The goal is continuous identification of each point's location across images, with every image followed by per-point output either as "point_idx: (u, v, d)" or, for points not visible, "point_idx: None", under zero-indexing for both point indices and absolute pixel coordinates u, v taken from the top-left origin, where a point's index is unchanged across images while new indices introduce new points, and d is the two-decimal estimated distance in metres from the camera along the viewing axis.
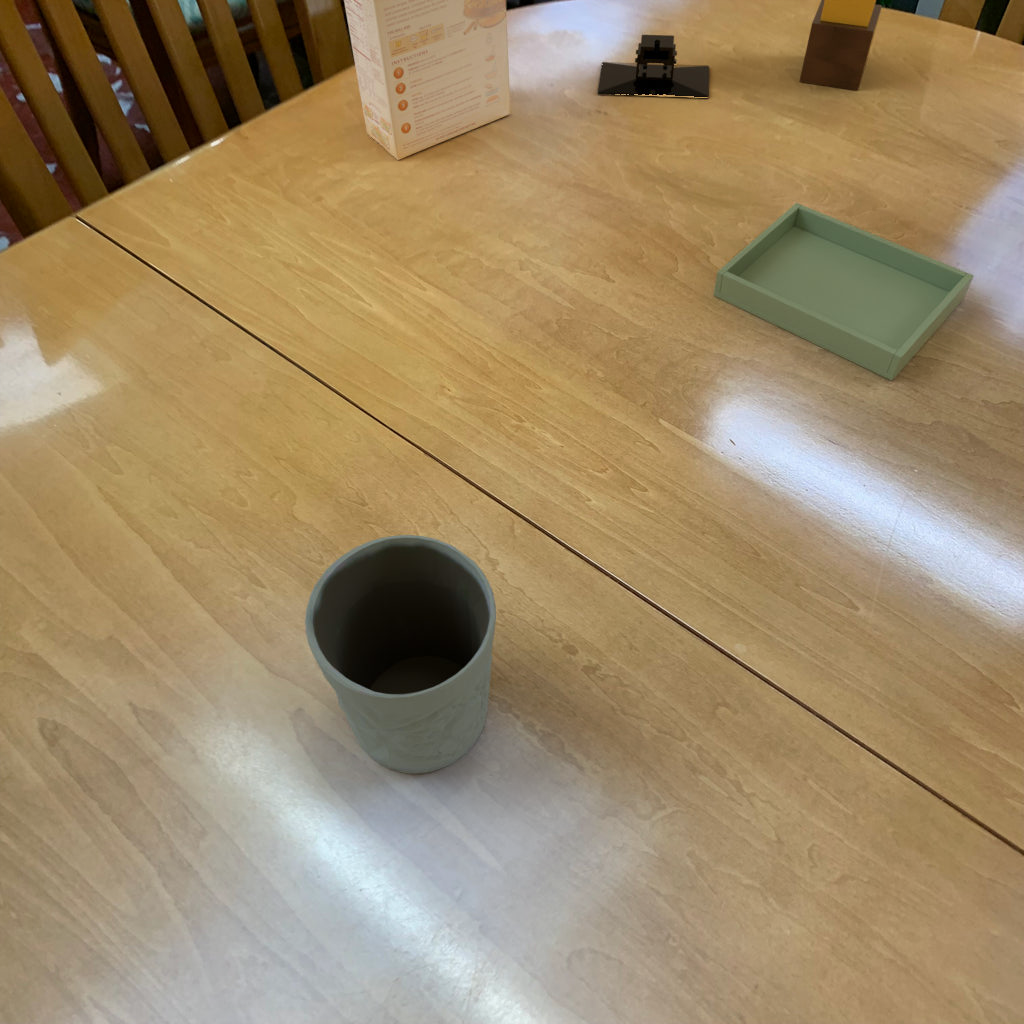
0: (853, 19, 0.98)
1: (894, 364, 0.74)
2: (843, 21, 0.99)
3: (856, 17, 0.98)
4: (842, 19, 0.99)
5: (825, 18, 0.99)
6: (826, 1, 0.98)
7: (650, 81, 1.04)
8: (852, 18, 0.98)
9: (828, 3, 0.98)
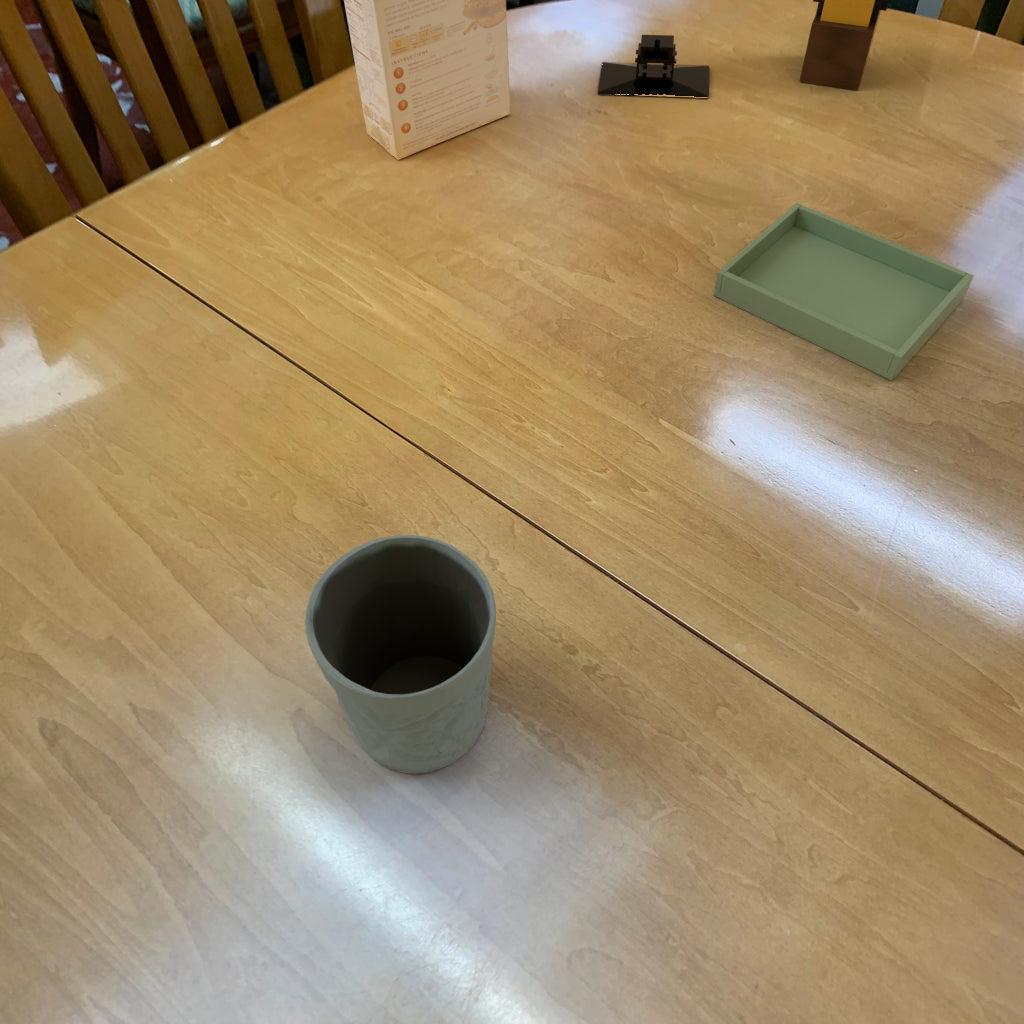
0: (853, 19, 0.98)
1: (894, 364, 0.74)
2: (843, 21, 0.99)
3: (856, 17, 0.98)
4: (842, 19, 0.99)
5: (825, 18, 0.99)
6: (826, 1, 0.98)
7: (650, 81, 1.04)
8: (852, 18, 0.98)
9: (828, 3, 0.98)
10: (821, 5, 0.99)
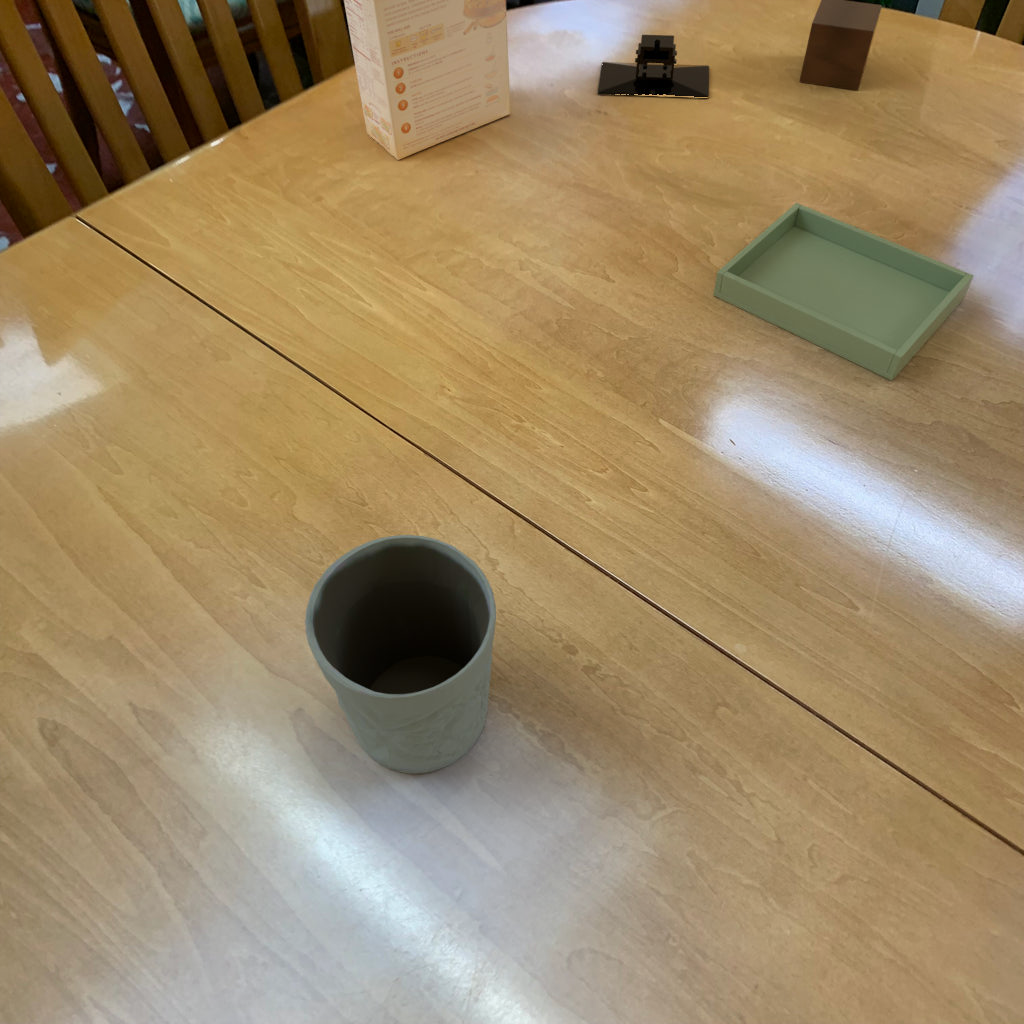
0: None
1: (894, 364, 0.74)
2: None
3: None
4: None
5: None
6: None
7: (650, 81, 1.04)
8: None
9: None
10: None
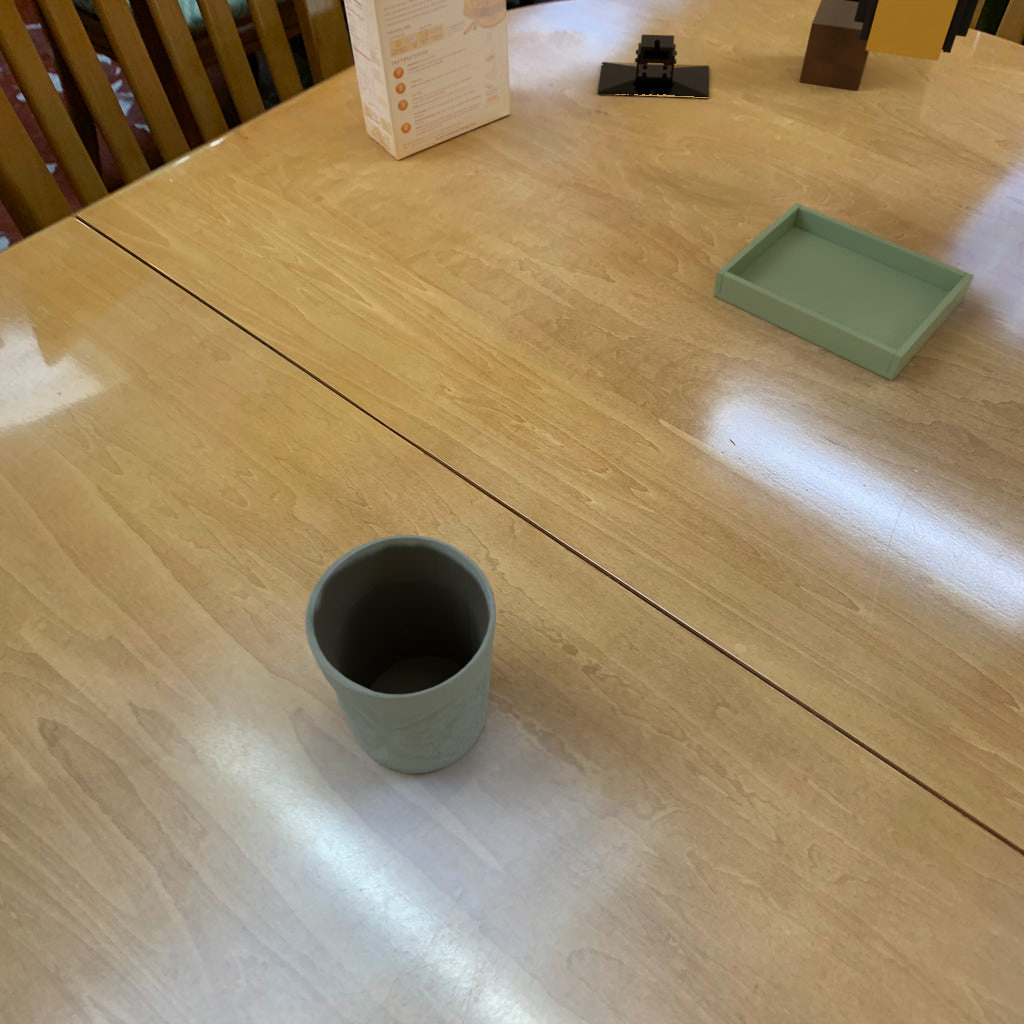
0: (915, 49, 0.65)
1: (894, 364, 0.74)
2: (900, 52, 0.66)
3: (921, 46, 0.65)
4: (899, 49, 0.66)
5: (873, 47, 0.66)
6: (875, 22, 0.65)
7: (650, 81, 1.04)
8: (914, 47, 0.65)
9: (878, 24, 0.65)
10: (867, 27, 0.66)
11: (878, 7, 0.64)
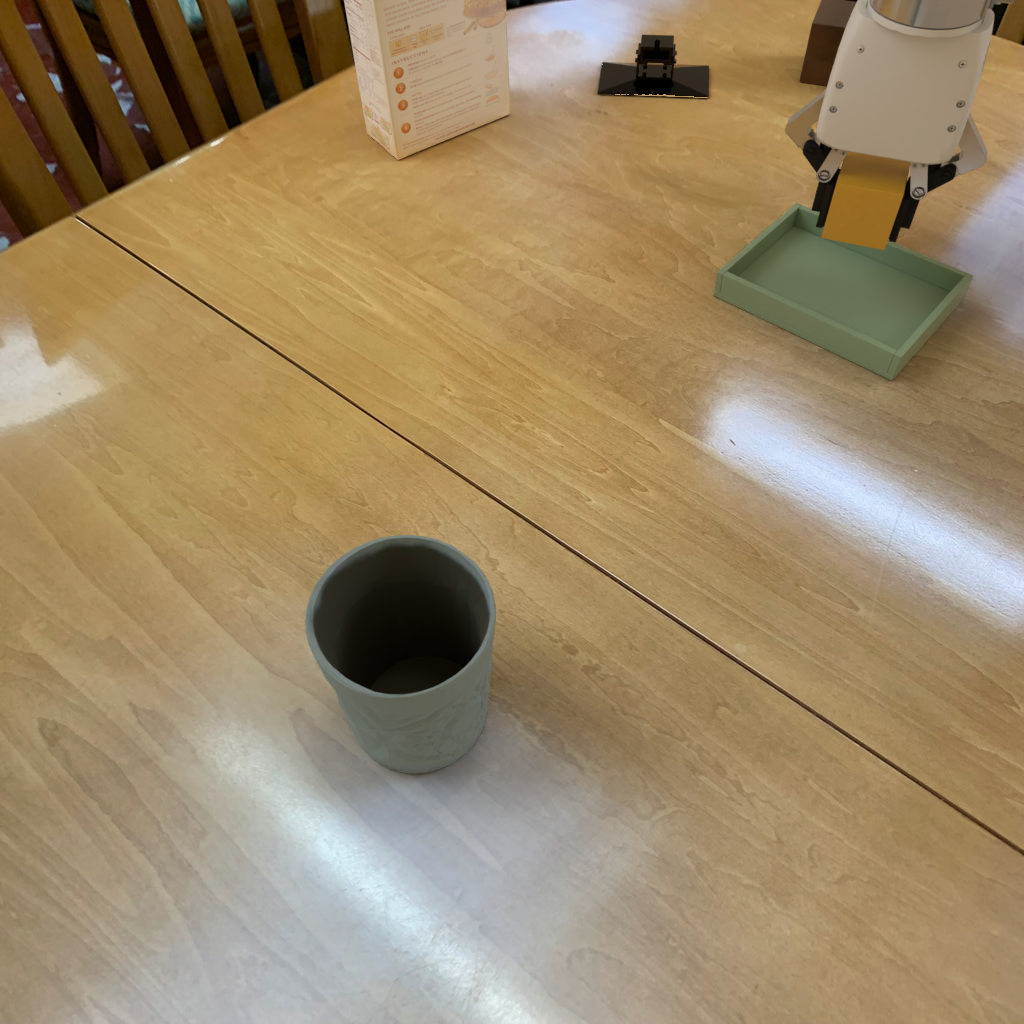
0: (865, 240, 0.74)
1: (894, 364, 0.74)
2: (852, 241, 0.74)
3: (869, 238, 0.73)
4: (850, 239, 0.74)
5: (828, 236, 0.75)
6: (829, 217, 0.73)
7: (650, 81, 1.04)
8: (864, 239, 0.74)
9: (831, 219, 0.73)
10: (822, 218, 0.75)
11: (831, 206, 0.73)
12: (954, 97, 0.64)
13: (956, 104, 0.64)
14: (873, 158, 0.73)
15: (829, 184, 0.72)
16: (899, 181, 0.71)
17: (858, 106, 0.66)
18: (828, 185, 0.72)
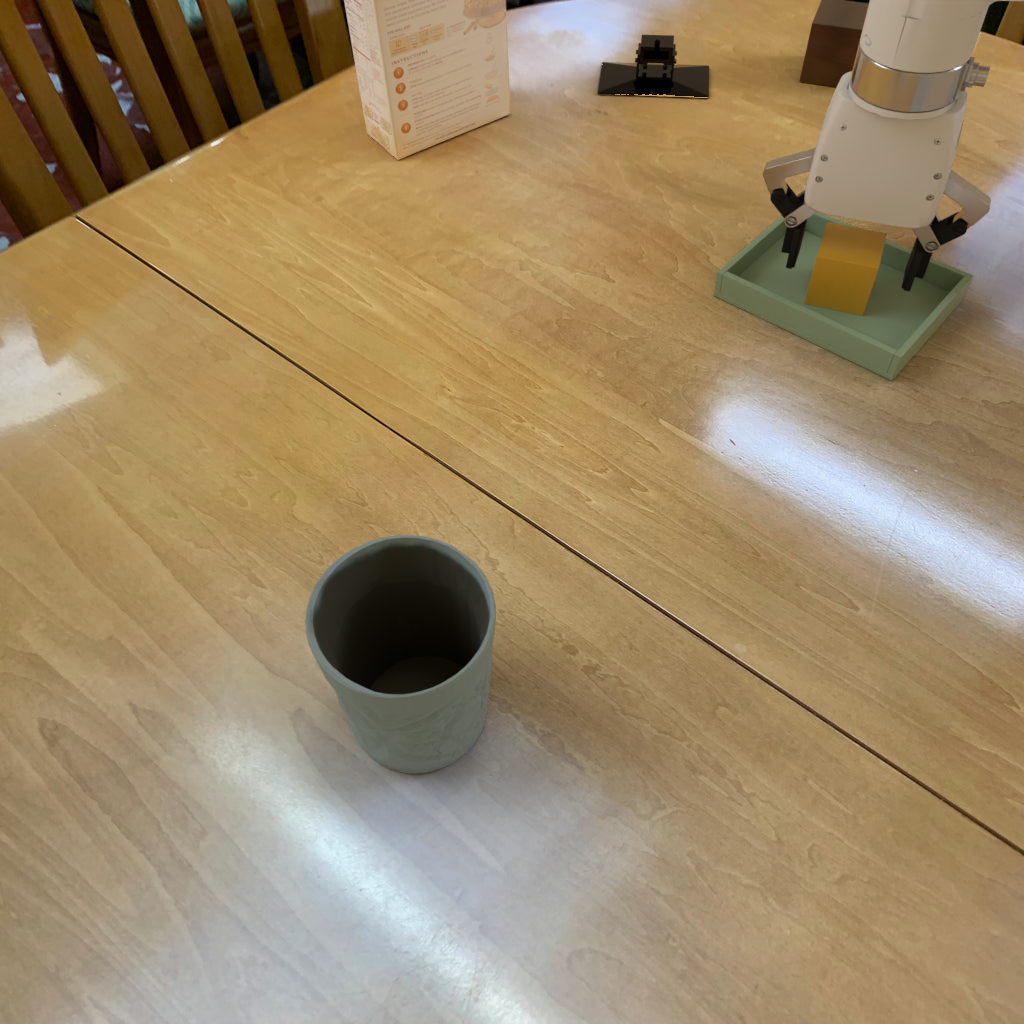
0: (844, 306, 0.79)
1: (894, 364, 0.74)
2: (832, 307, 0.79)
3: (848, 305, 0.79)
4: (831, 305, 0.79)
5: (810, 302, 0.80)
6: (811, 285, 0.79)
7: (650, 81, 1.04)
8: (843, 305, 0.79)
9: (813, 287, 0.79)
10: (791, 260, 0.79)
11: (812, 275, 0.78)
12: (931, 170, 0.68)
13: (934, 176, 0.69)
14: (852, 231, 0.78)
15: (796, 229, 0.77)
16: (875, 253, 0.76)
17: (842, 177, 0.71)
18: (795, 230, 0.77)
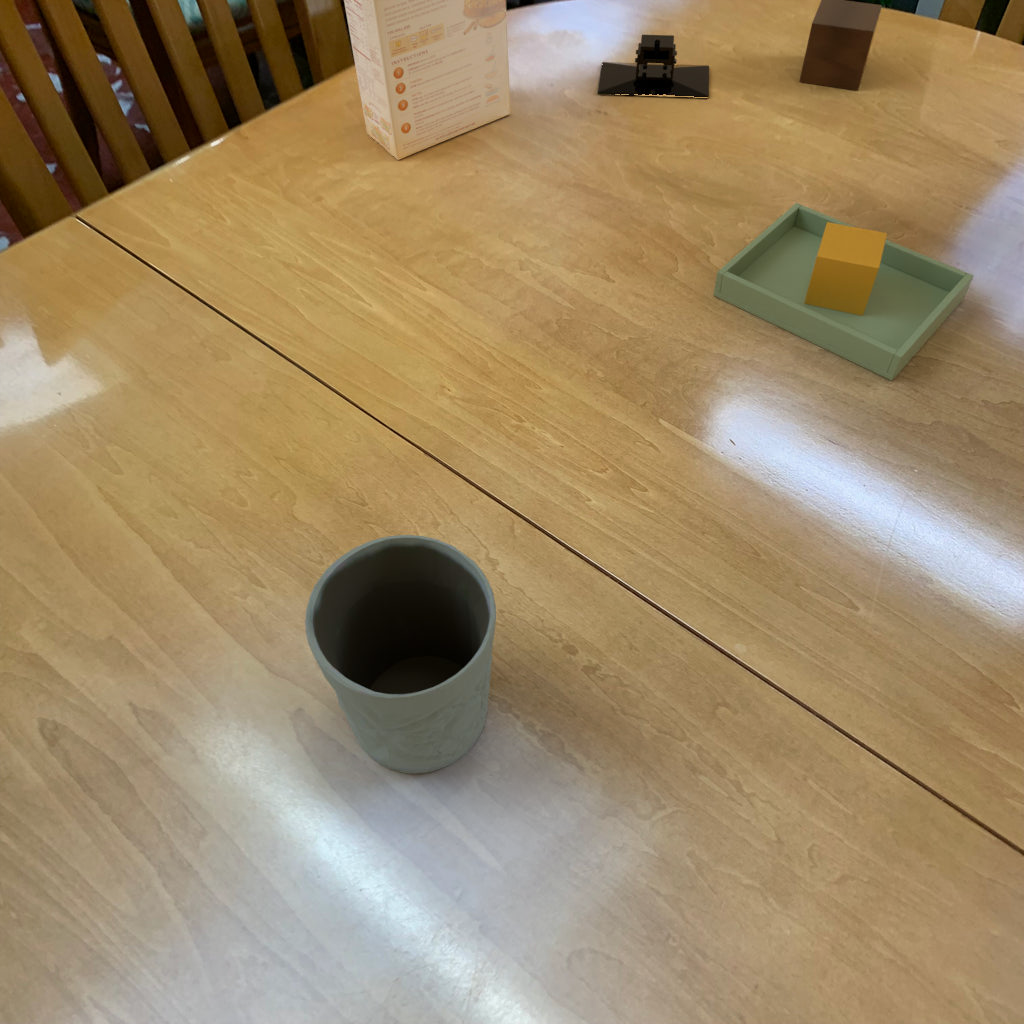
0: (844, 306, 0.79)
1: (894, 364, 0.74)
2: (832, 307, 0.79)
3: (848, 305, 0.79)
4: (831, 305, 0.79)
5: (810, 302, 0.80)
6: (811, 285, 0.79)
7: (650, 81, 1.04)
8: (843, 305, 0.79)
9: (813, 287, 0.79)
10: None
11: (812, 275, 0.78)
12: None
13: None
14: (852, 231, 0.78)
15: None
16: (875, 253, 0.76)
17: None
18: None
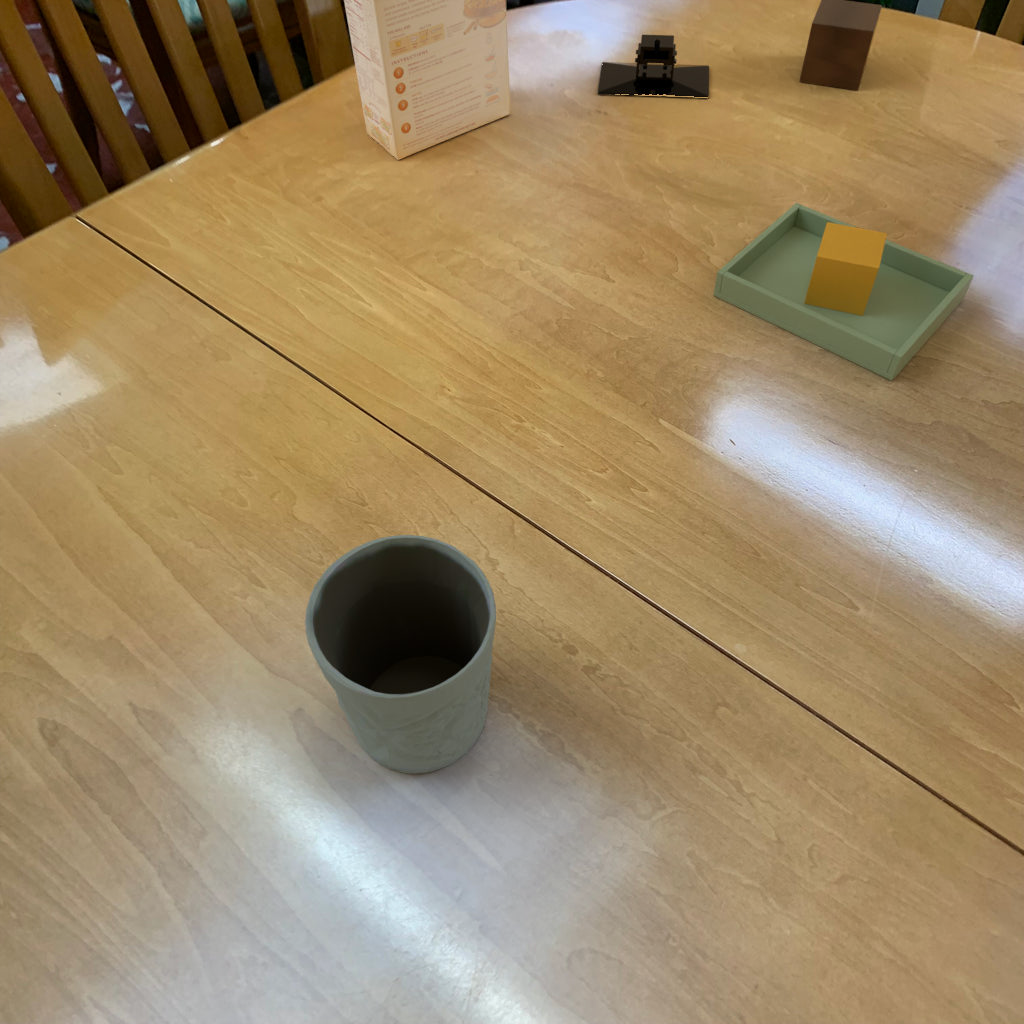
0: (844, 306, 0.79)
1: (894, 364, 0.74)
2: (832, 307, 0.79)
3: (848, 305, 0.79)
4: (831, 305, 0.79)
5: (810, 302, 0.80)
6: (811, 285, 0.79)
7: (650, 81, 1.04)
8: (843, 305, 0.79)
9: (813, 287, 0.79)
10: None
11: (812, 275, 0.78)
12: None
13: None
14: (852, 231, 0.78)
15: None
16: (875, 253, 0.76)
17: None
18: None
